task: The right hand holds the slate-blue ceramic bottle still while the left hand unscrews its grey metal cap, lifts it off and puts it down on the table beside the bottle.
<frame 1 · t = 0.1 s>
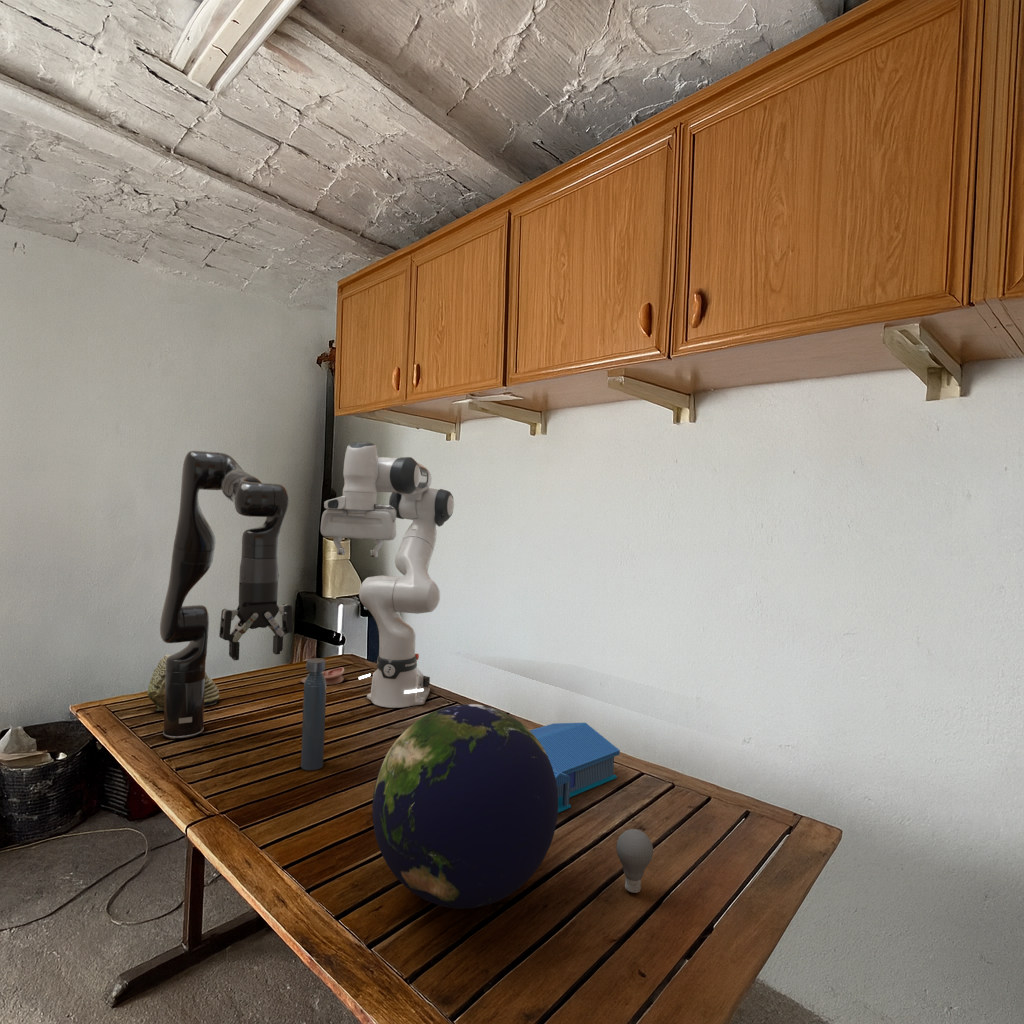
left hand: (256, 656, 132), 30 cm above the table, tool pointing down, fingers open, 8 cm apart
right hand: (357, 555, 167), 48 cm above the table, tool pointing down, fingers open, 8 cm apart
globe: (462, 892, 103), on the table
anatomical model: (322, 681, 215), on the table
bottle: (312, 766, 149), on the table
fossil: (183, 706, 185), on the table
cap: (316, 661, 148), point 25 cm above the table, screwed on, not yet turned
model building: (530, 787, 143), on the table
light bulb: (632, 891, 106), on the table
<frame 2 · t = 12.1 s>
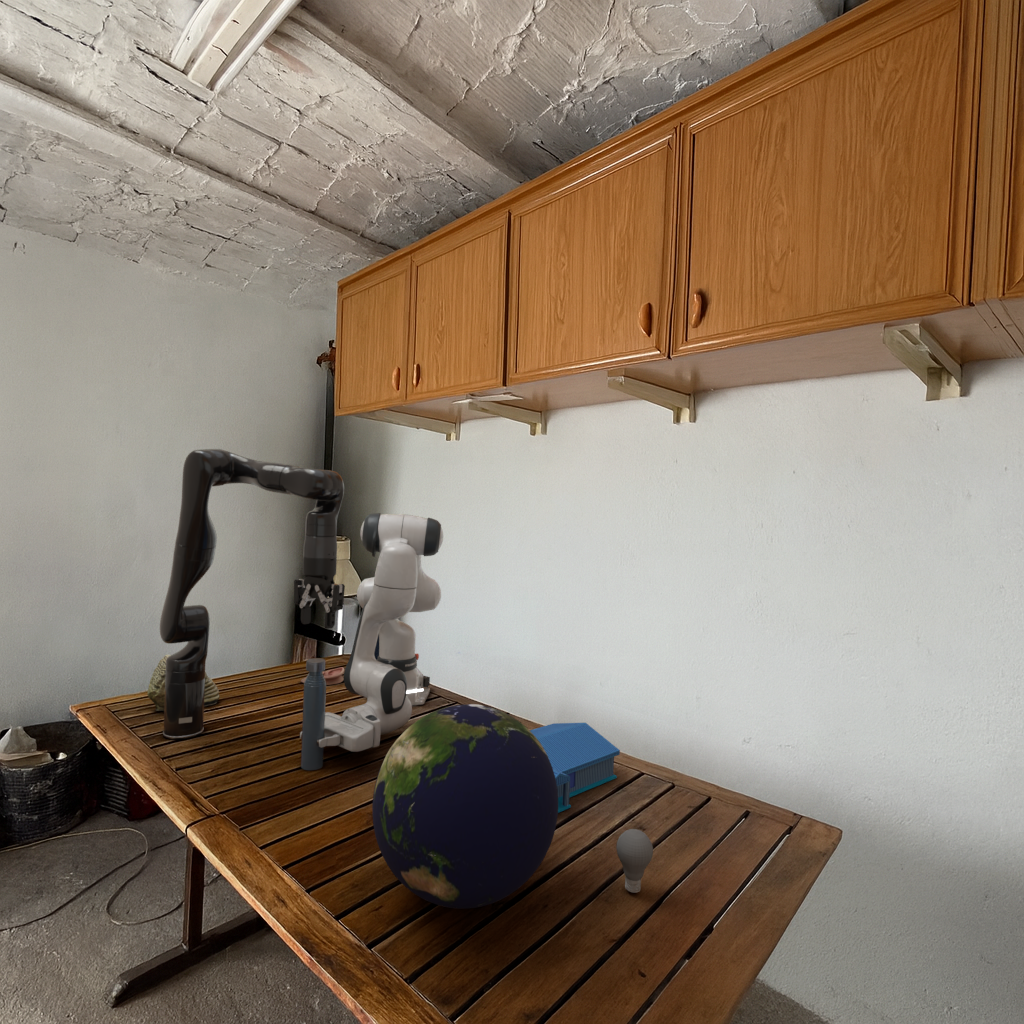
left hand: (317, 625, 148), 33 cm above the table, tool pointing down, fingers open, 7 cm apart
right hand: (309, 739, 148), 6 cm above the table, tool horizontal, fingers closed on bottle, 5 cm apart
bottle: (312, 765, 149), on the table, touching right hand
everything else where it was.
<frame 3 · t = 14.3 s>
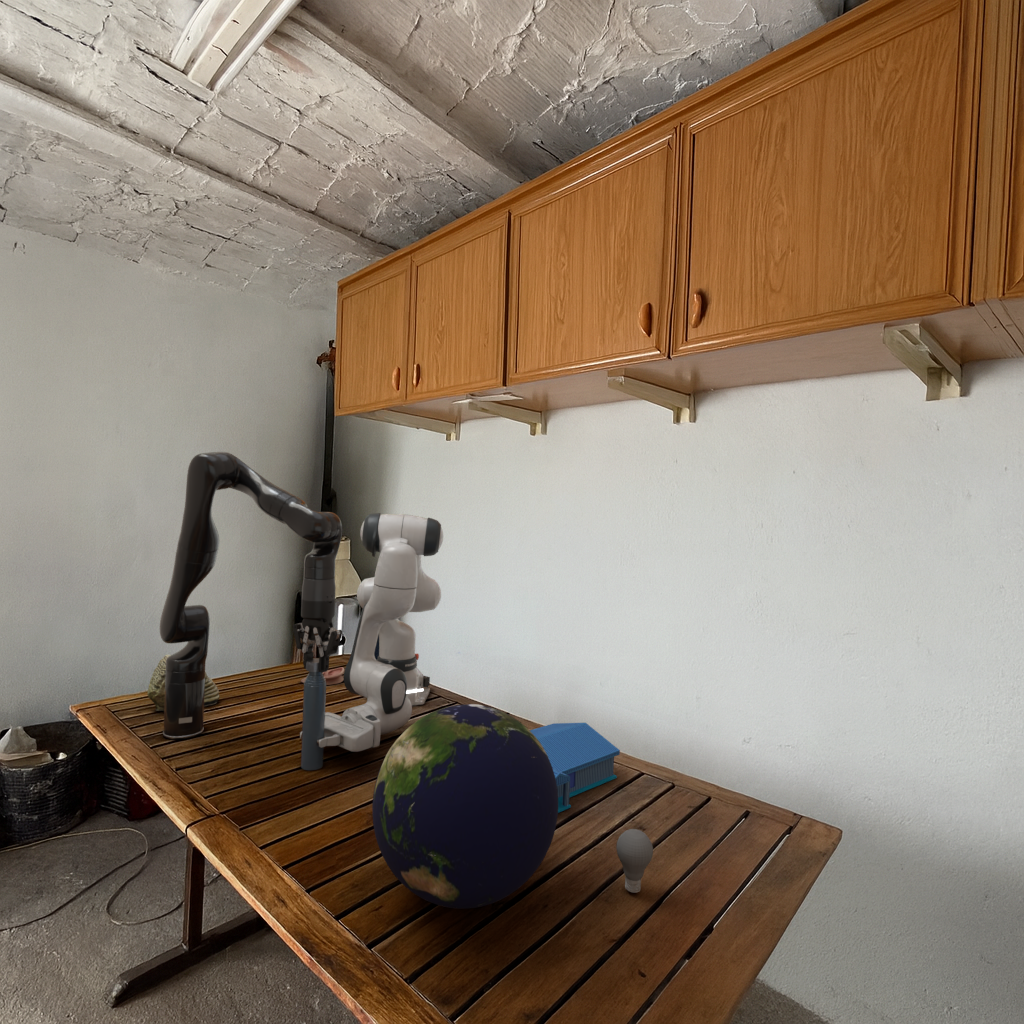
left hand: (315, 669, 148), 23 cm above the table, tool pointing down, fingers closed on cap, 4 cm apart
right hand: (309, 739, 148), 6 cm above the table, tool horizontal, fingers closed on bottle, 5 cm apart
bottle: (312, 765, 149), on the table, touching right hand
cap: (316, 661, 148), point 25 cm above the table, screwed on, not yet turned, touching left hand
everything else where it was.
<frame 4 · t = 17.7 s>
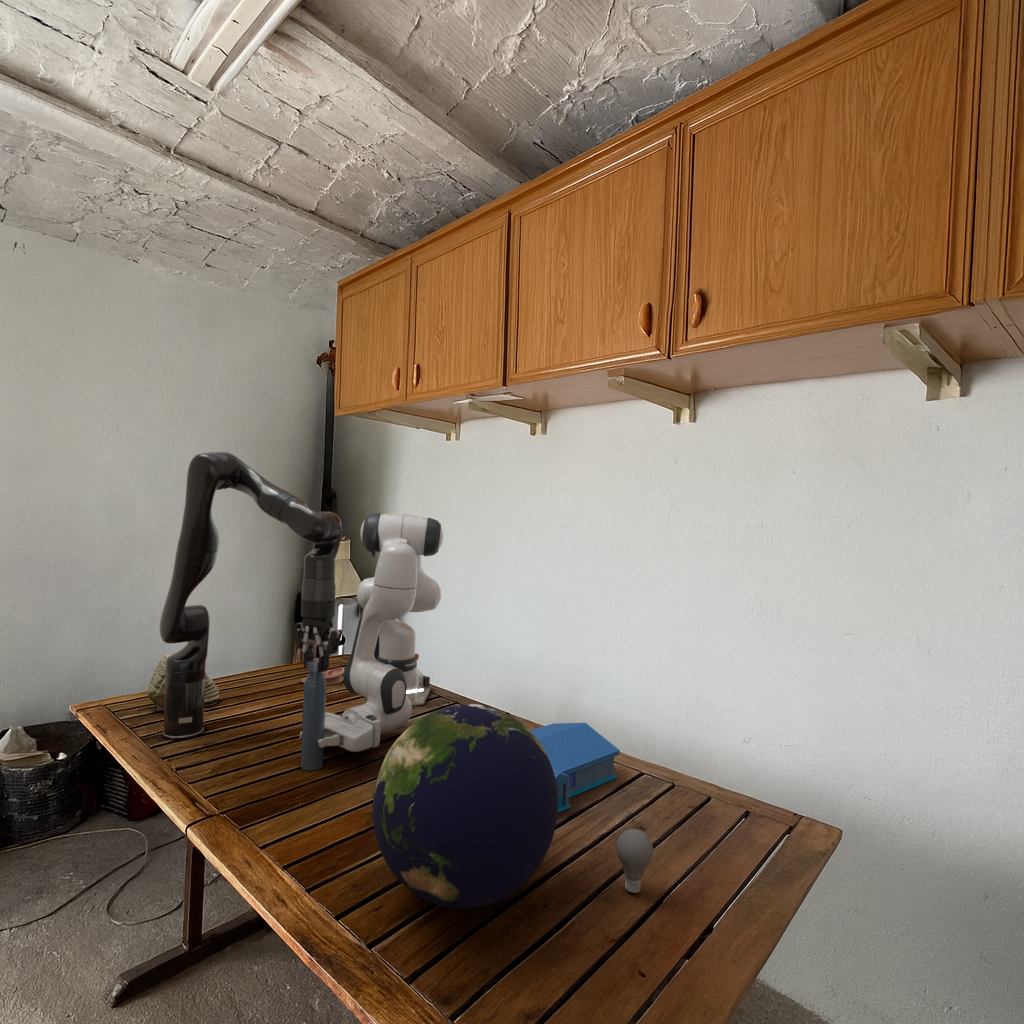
left hand: (315, 669, 148), 23 cm above the table, tool pointing down, fingers closed on cap, 4 cm apart
right hand: (309, 739, 148), 6 cm above the table, tool horizontal, fingers closed on bottle, 5 cm apart
bottle: (311, 766, 149), on the table, touching right hand
cap: (316, 661, 148), point 25 cm above the table, turned 74° so far, risen 0.1 cm, still on its thread, touching left hand
everything else where it was.
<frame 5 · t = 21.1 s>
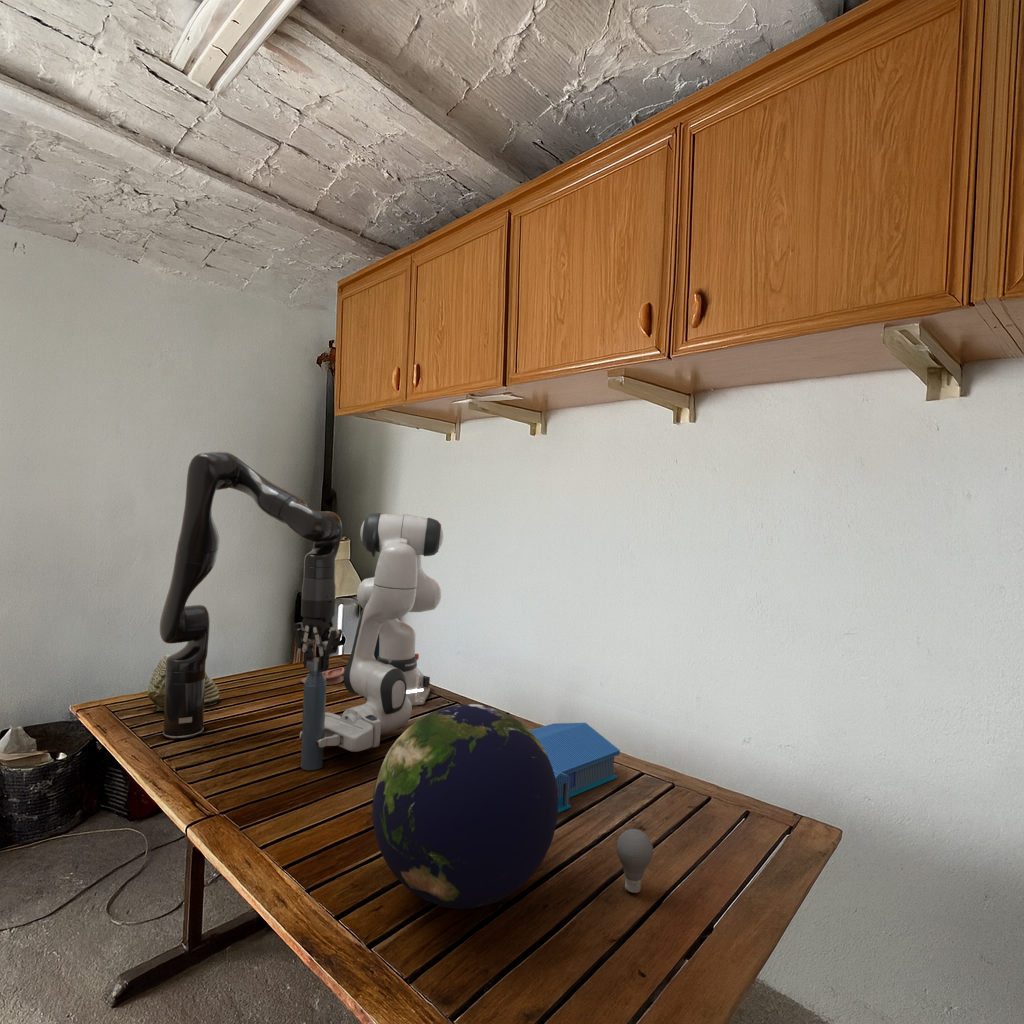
left hand: (315, 669, 148), 23 cm above the table, tool pointing down, fingers closed on cap, 4 cm apart
right hand: (309, 739, 148), 6 cm above the table, tool horizontal, fingers closed on bottle, 5 cm apart
bottle: (311, 766, 149), on the table, touching right hand
cap: (316, 660, 148), point 25 cm above the table, turned 148° so far, risen 0.1 cm, still on its thread, touching left hand
everything else where it was.
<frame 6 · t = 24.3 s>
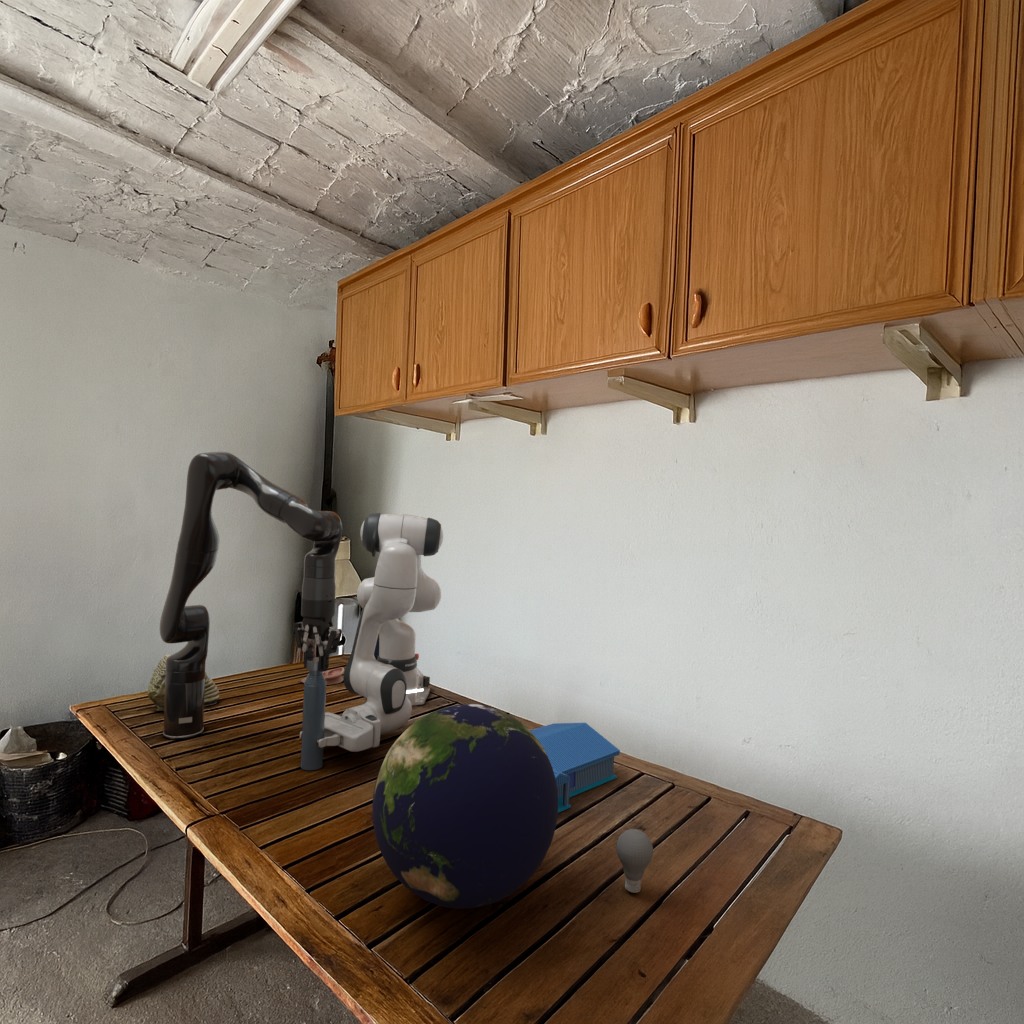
left hand: (315, 668, 148), 23 cm above the table, tool pointing down, fingers closed on cap, 4 cm apart
right hand: (309, 739, 148), 6 cm above the table, tool horizontal, fingers closed on bottle, 5 cm apart
bottle: (311, 766, 149), on the table, touching right hand
cap: (316, 660, 148), point 25 cm above the table, turned 222° so far, risen 0.2 cm, still on its thread, touching left hand
everything else where it was.
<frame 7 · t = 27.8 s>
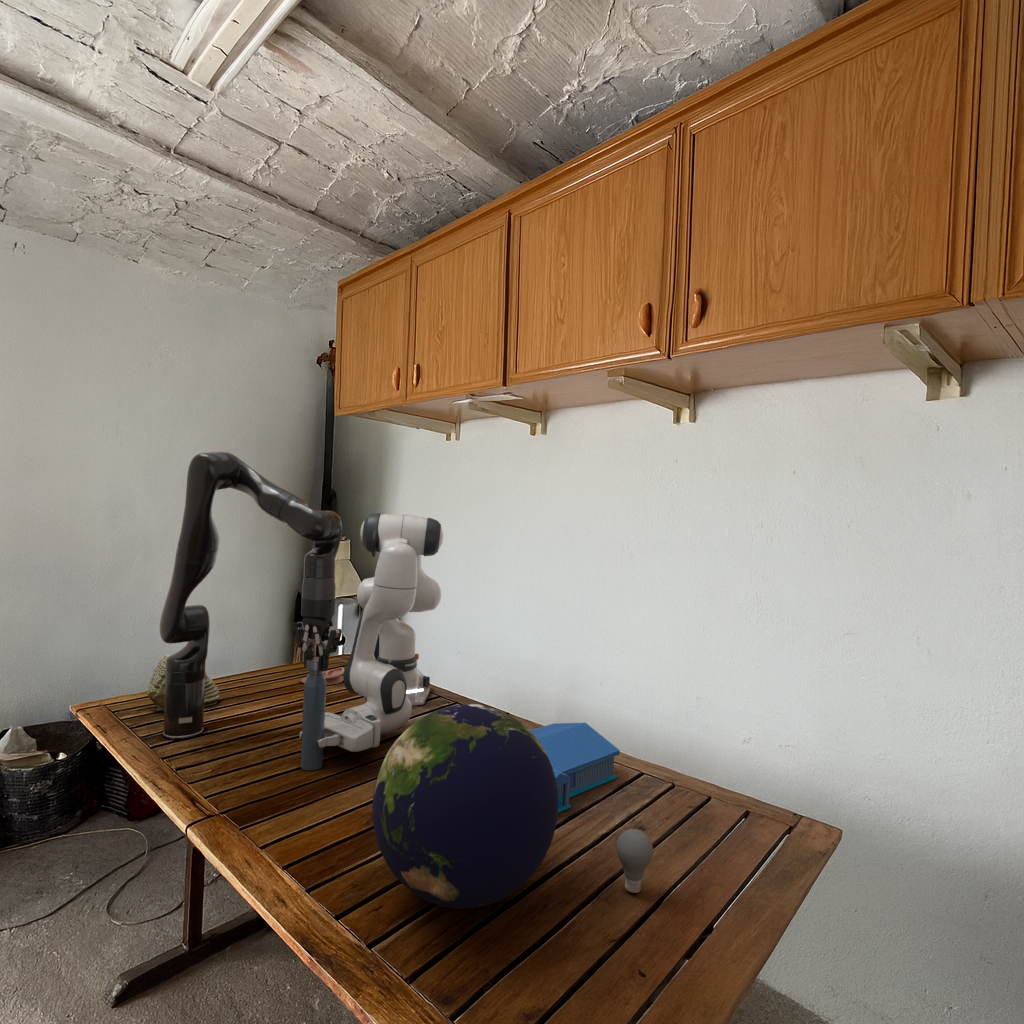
left hand: (315, 668, 148), 23 cm above the table, tool pointing down, fingers closed on cap, 4 cm apart
right hand: (309, 739, 148), 6 cm above the table, tool horizontal, fingers closed on bottle, 5 cm apart
bottle: (311, 766, 149), on the table, touching right hand
cap: (316, 660, 148), point 25 cm above the table, turned 296° so far, risen 0.3 cm, still on its thread, touching left hand
everything else where it was.
when the left hand's fingers open (1 cm above the table, at t = 39.1 s): cap drops 1 cm, point 2 cm above the table.
when the right hand's fingers open (6 cm above the table, at t = 40.3 s): bottle stays where it is, on the table.
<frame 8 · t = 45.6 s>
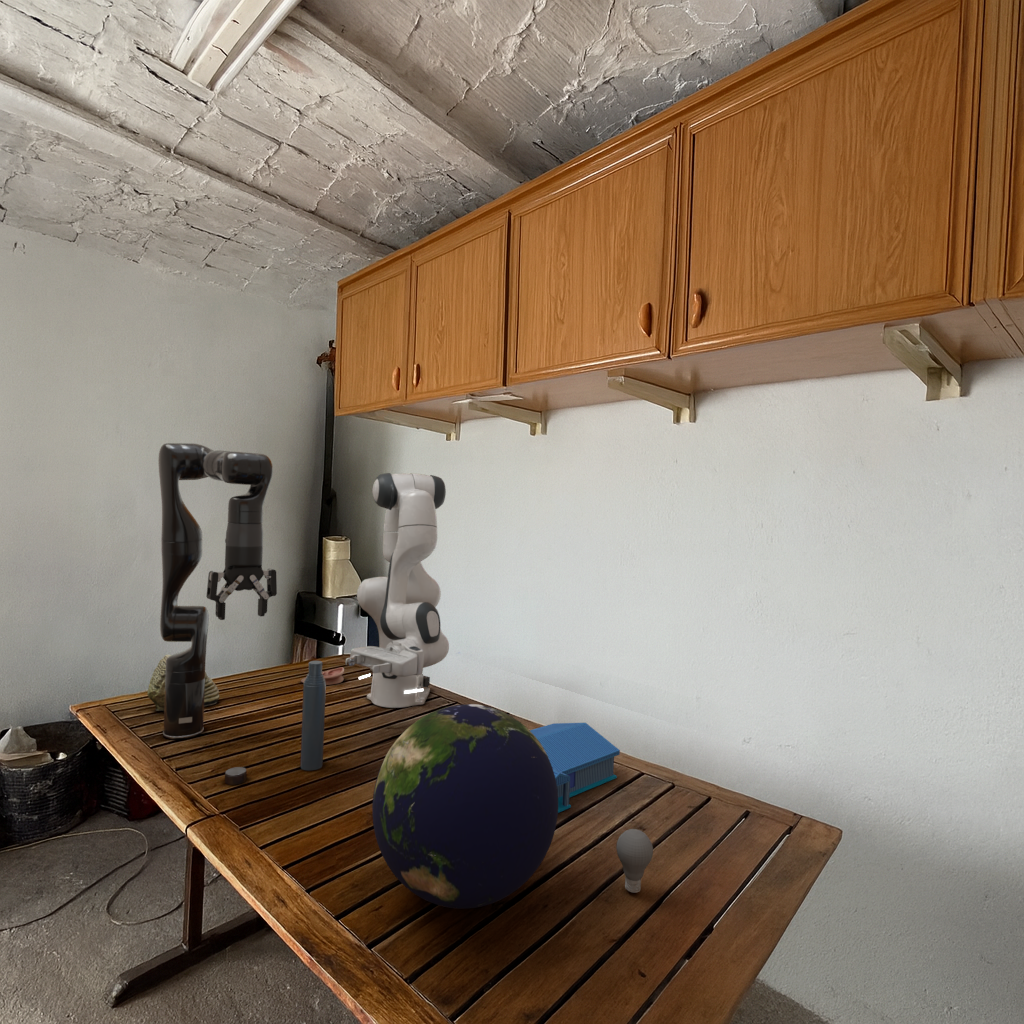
left hand: (241, 617, 139), 36 cm above the table, tool pointing down, fingers open, 8 cm apart
right hand: (359, 665, 159), 21 cm above the table, tool horizontal, fingers open, 8 cm apart
bottle: (311, 766, 149), on the table
cap: (235, 772, 139), point 2 cm above the table, off its thread
everything else where it was.
at the end: cap came off its thread; cap point 1.9 cm above the table; the left hand is holding nothing; the right hand is holding nothing; bottle tilted 0°; bottle moved 0.1 cm from its start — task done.
